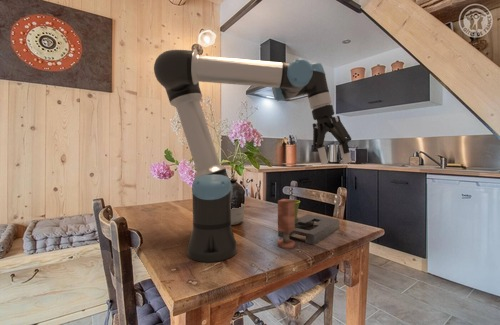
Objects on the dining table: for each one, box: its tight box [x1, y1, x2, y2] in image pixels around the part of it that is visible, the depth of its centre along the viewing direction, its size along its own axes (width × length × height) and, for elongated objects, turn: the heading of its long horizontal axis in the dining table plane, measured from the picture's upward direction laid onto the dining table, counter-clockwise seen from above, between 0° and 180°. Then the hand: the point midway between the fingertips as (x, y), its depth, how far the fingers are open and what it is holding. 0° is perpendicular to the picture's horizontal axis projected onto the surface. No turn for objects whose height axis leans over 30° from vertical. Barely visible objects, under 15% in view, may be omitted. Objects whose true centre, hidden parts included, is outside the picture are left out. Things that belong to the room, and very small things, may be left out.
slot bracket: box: [277, 214, 340, 246], centre depth 94 cm, size 14×24×3 cm, turn 140°
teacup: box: [231, 203, 245, 226], centre depth 108 cm, size 14×11×8 cm
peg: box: [277, 198, 296, 250], centre depth 80 cm, size 6×6×15 cm
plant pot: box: [289, 198, 301, 220], centre depth 112 cm, size 9×9×9 cm
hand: (335, 163), depth 90 cm, fingers open, 13 cm apart
